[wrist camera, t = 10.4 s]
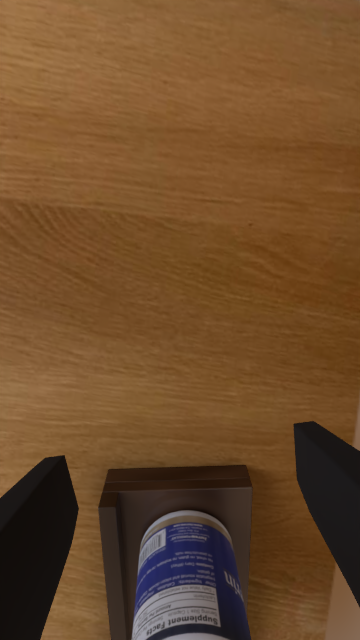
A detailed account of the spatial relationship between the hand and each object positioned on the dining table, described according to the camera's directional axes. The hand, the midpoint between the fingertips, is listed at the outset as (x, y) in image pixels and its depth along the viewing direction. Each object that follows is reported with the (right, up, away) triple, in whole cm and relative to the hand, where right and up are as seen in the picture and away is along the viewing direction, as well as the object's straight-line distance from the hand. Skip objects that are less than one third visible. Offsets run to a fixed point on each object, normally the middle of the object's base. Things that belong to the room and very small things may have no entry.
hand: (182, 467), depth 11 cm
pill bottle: (0, -9, +11) cm, 15 cm away
